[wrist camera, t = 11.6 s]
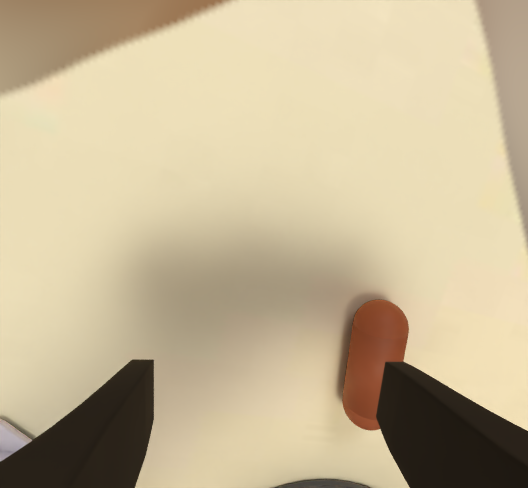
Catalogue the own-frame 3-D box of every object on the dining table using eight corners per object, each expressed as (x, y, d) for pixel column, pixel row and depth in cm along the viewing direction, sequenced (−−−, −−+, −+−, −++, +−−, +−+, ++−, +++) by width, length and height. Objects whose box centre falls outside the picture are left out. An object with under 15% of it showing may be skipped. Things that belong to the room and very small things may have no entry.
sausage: (369, 402, 22) (401, 436, 20) (330, 410, 21) (358, 447, 19) (388, 290, 21) (425, 310, 18) (346, 293, 20) (379, 315, 17)
